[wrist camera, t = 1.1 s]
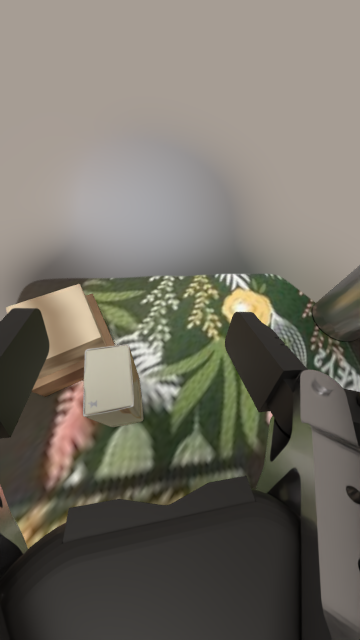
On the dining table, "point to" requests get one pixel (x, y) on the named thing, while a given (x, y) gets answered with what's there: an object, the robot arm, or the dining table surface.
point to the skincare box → (112, 386)
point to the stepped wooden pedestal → (67, 336)
